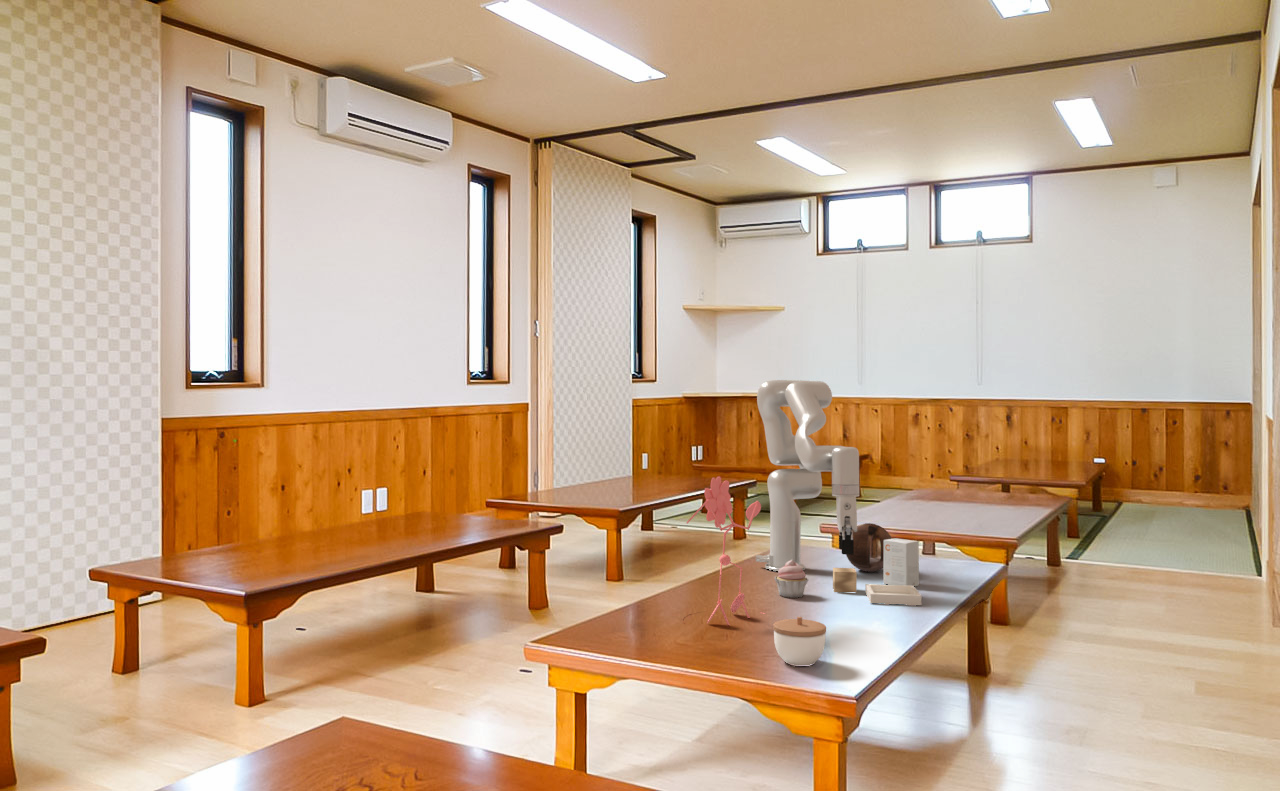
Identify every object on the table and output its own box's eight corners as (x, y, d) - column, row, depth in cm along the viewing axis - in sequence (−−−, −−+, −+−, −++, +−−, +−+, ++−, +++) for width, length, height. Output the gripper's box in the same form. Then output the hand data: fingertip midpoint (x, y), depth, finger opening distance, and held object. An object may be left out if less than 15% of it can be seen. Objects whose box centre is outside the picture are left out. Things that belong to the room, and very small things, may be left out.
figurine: (770, 613, 232) (768, 474, 233) (712, 633, 212) (710, 481, 212) (719, 605, 242) (717, 472, 242) (659, 624, 222) (657, 479, 222)
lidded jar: (767, 667, 186) (768, 620, 186) (779, 653, 196) (779, 609, 196) (820, 673, 183) (821, 625, 183) (829, 658, 193) (830, 613, 193)
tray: (870, 603, 244) (870, 593, 244) (865, 593, 257) (865, 584, 257) (921, 605, 242) (921, 595, 242) (913, 595, 255) (913, 585, 255)
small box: (919, 586, 267) (919, 541, 267) (906, 588, 263) (906, 543, 263) (895, 581, 274) (895, 537, 274) (882, 584, 269) (882, 539, 269)
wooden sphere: (847, 565, 299) (847, 519, 299) (895, 568, 294) (895, 521, 294) (841, 573, 285) (841, 525, 285) (891, 577, 280) (892, 528, 280)
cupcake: (793, 601, 246) (793, 563, 246) (767, 595, 254) (767, 558, 254) (815, 596, 252) (816, 560, 252) (789, 590, 260) (790, 555, 260)
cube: (834, 593, 257) (834, 571, 257) (832, 588, 263) (833, 567, 263) (856, 593, 256) (856, 572, 256) (854, 589, 262) (854, 568, 262)
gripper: (862, 493, 251) (862, 556, 250) (856, 488, 268) (856, 547, 267) (834, 493, 252) (834, 556, 251) (829, 488, 269) (830, 547, 268)
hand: (846, 551), depth 259 cm, fingers open, 9 cm apart
